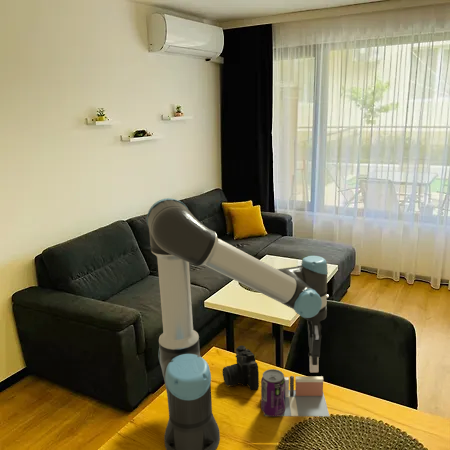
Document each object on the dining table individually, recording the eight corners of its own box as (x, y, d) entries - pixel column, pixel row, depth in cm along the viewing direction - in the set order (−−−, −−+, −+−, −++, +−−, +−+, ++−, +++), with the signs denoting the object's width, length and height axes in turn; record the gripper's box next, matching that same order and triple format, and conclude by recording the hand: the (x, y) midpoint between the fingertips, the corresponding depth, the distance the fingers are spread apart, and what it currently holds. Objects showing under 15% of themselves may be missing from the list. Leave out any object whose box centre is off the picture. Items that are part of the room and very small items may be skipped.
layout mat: (264, 416, 128) (264, 415, 128) (262, 390, 139) (262, 389, 139) (329, 417, 127) (329, 416, 127) (322, 390, 138) (322, 390, 138)
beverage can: (284, 419, 126) (284, 383, 123) (260, 417, 127) (259, 381, 124) (286, 403, 132) (286, 369, 129) (263, 401, 134) (262, 367, 131)
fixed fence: (264, 396, 136) (264, 378, 134) (264, 393, 138) (264, 375, 136) (293, 396, 136) (294, 378, 134) (293, 393, 137) (293, 375, 135)
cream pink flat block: (295, 396, 135) (296, 379, 134) (295, 393, 137) (295, 376, 135) (322, 396, 135) (323, 379, 133) (322, 393, 136) (322, 376, 135)
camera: (218, 372, 150) (217, 346, 147) (247, 366, 153) (246, 340, 150) (230, 396, 137) (229, 369, 135) (261, 389, 140) (261, 362, 137)
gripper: (330, 314, 129) (329, 383, 135) (323, 295, 141) (322, 359, 148) (304, 315, 129) (304, 383, 136) (299, 296, 142) (300, 359, 148)
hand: (314, 370), depth 142 cm, fingers closed
